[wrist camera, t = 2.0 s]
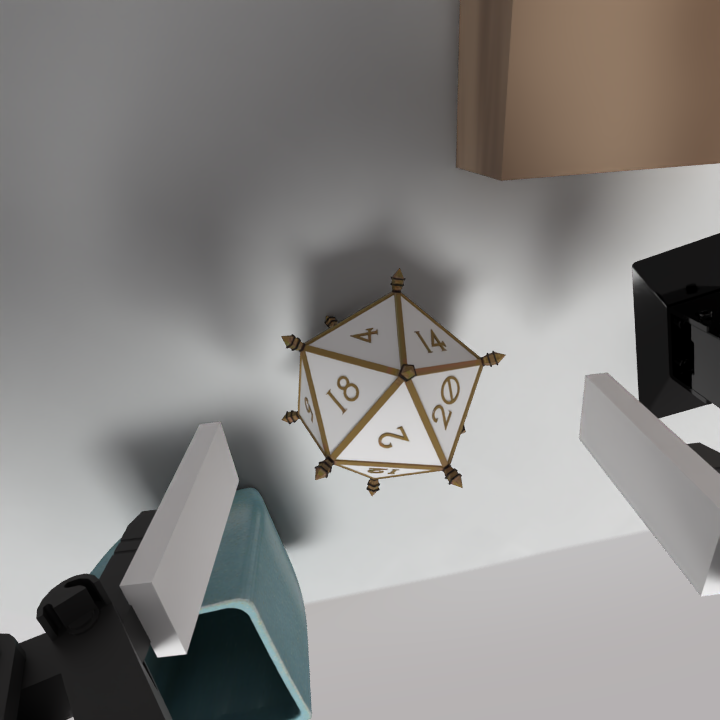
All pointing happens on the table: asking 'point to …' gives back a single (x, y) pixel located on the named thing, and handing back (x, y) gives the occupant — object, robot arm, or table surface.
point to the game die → (386, 390)
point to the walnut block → (587, 86)
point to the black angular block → (678, 327)
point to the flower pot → (241, 630)
